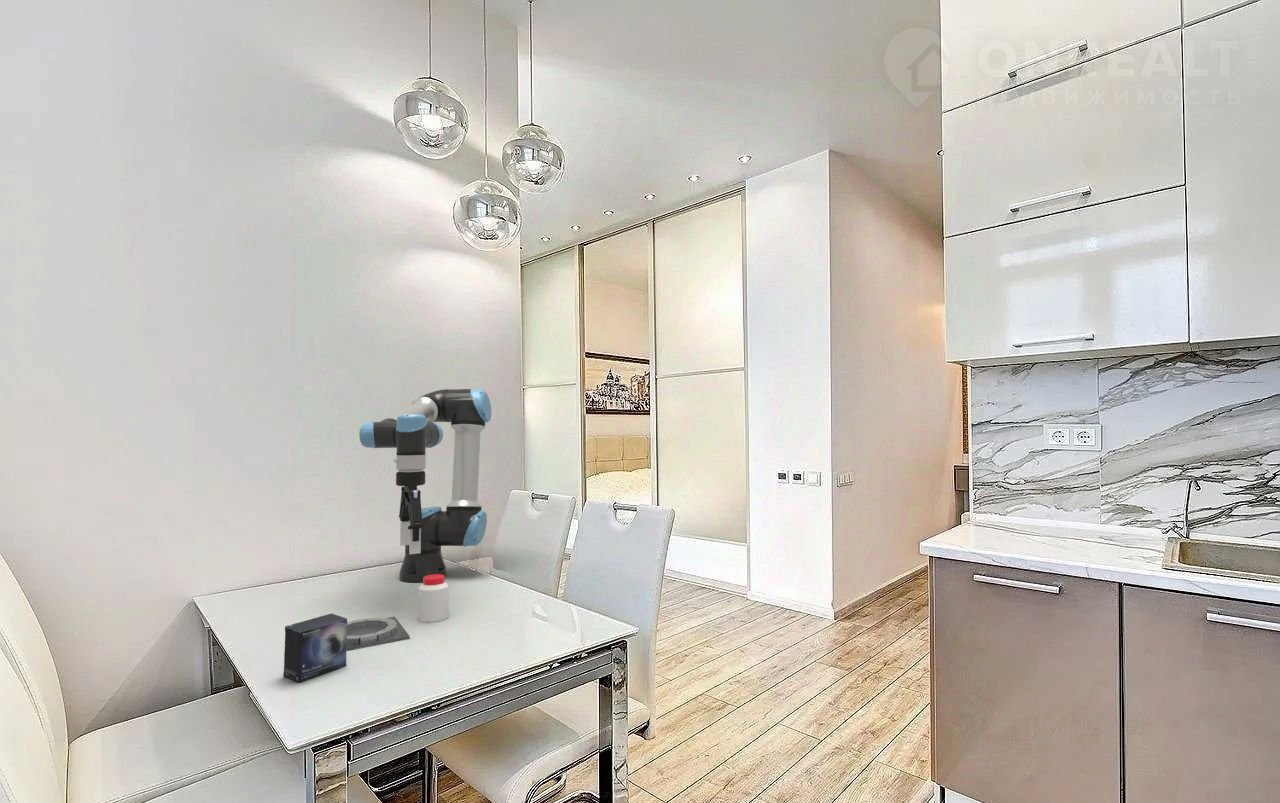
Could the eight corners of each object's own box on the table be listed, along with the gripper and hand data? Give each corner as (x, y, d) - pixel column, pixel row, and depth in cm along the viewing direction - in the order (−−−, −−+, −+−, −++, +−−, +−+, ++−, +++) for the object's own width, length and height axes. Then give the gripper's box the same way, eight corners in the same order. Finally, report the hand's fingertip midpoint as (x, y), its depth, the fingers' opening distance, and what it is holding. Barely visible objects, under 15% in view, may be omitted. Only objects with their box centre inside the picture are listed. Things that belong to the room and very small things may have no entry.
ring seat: (394, 618, 163) (394, 611, 163) (409, 638, 148) (409, 631, 148) (319, 631, 153) (319, 624, 153) (327, 654, 138) (327, 646, 138)
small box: (299, 684, 123) (299, 631, 123) (282, 677, 126) (282, 626, 127) (348, 666, 132) (348, 617, 132) (331, 659, 135) (331, 612, 135)
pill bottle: (412, 620, 162) (412, 578, 162) (432, 611, 169) (432, 572, 169) (435, 623, 159) (435, 581, 159) (454, 615, 166) (454, 574, 166)
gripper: (388, 468, 174) (388, 543, 173) (404, 474, 153) (403, 559, 152) (416, 467, 178) (415, 540, 177) (435, 472, 157) (434, 555, 156)
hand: (410, 549), depth 164 cm, fingers open, 13 cm apart
